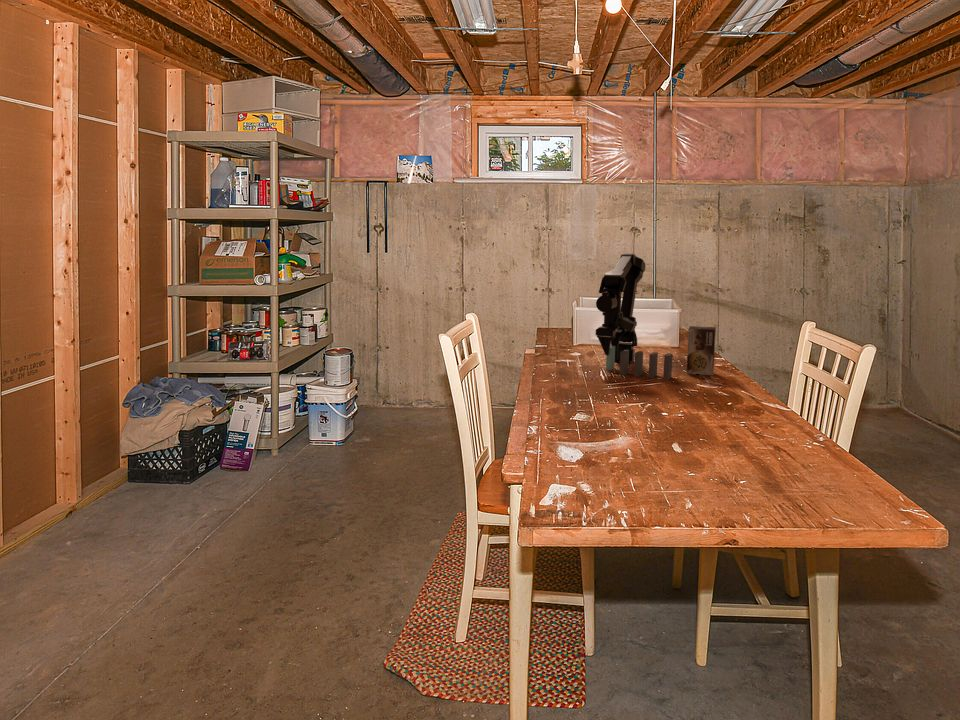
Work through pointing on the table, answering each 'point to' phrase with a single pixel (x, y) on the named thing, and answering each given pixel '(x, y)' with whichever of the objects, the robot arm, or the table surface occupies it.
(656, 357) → the black domino
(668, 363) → the black domino
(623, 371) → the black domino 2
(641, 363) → the black domino
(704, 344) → the coffee box
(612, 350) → the teal domino
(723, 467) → the table surface
